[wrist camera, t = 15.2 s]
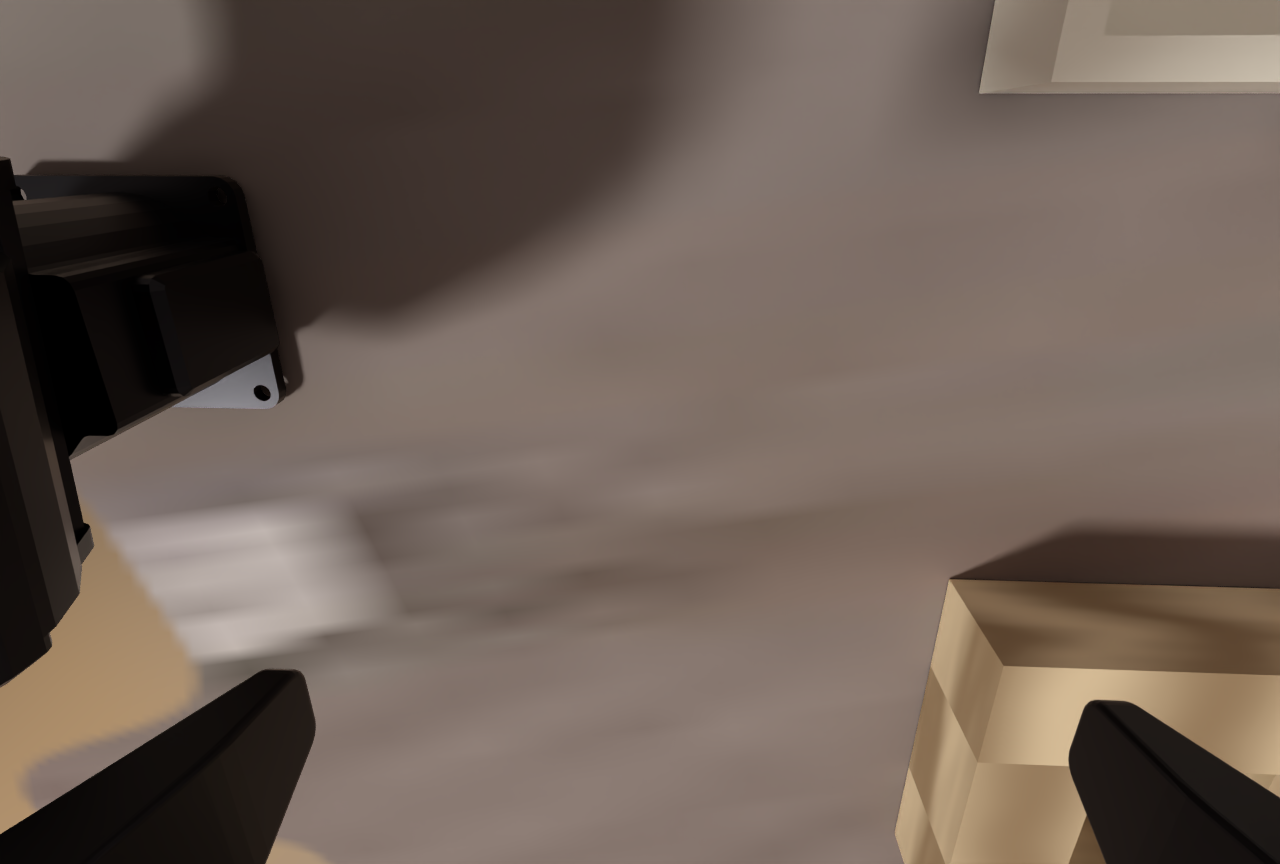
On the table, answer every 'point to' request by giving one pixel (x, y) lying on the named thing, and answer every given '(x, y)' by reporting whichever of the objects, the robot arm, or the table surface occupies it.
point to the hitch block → (1075, 705)
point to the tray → (1133, 47)
